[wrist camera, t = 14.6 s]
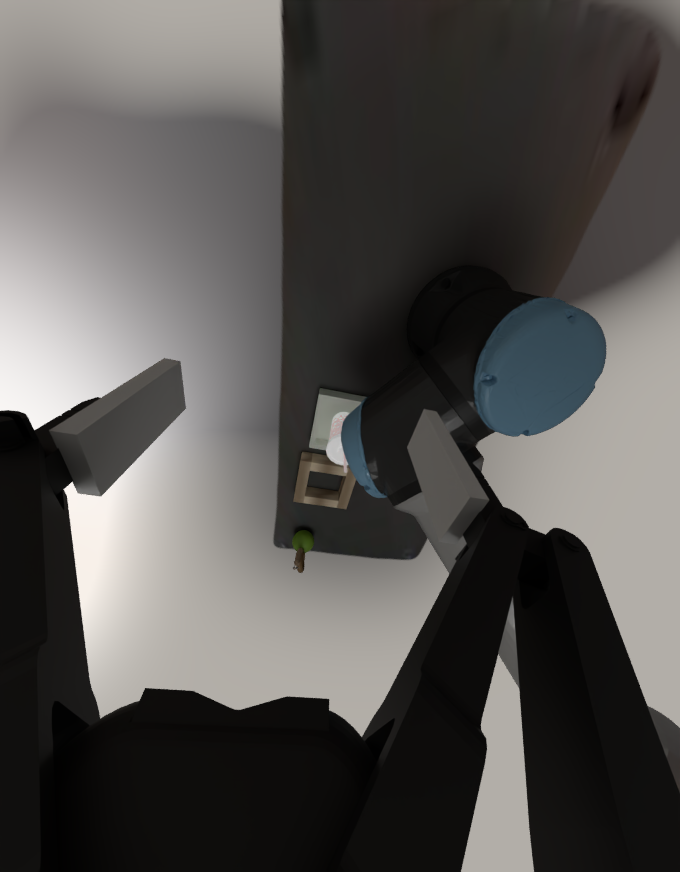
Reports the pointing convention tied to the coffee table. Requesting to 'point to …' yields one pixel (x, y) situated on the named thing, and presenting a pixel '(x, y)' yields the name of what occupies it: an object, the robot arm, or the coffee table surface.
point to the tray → (330, 414)
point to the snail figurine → (302, 547)
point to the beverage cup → (337, 441)
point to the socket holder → (316, 494)
